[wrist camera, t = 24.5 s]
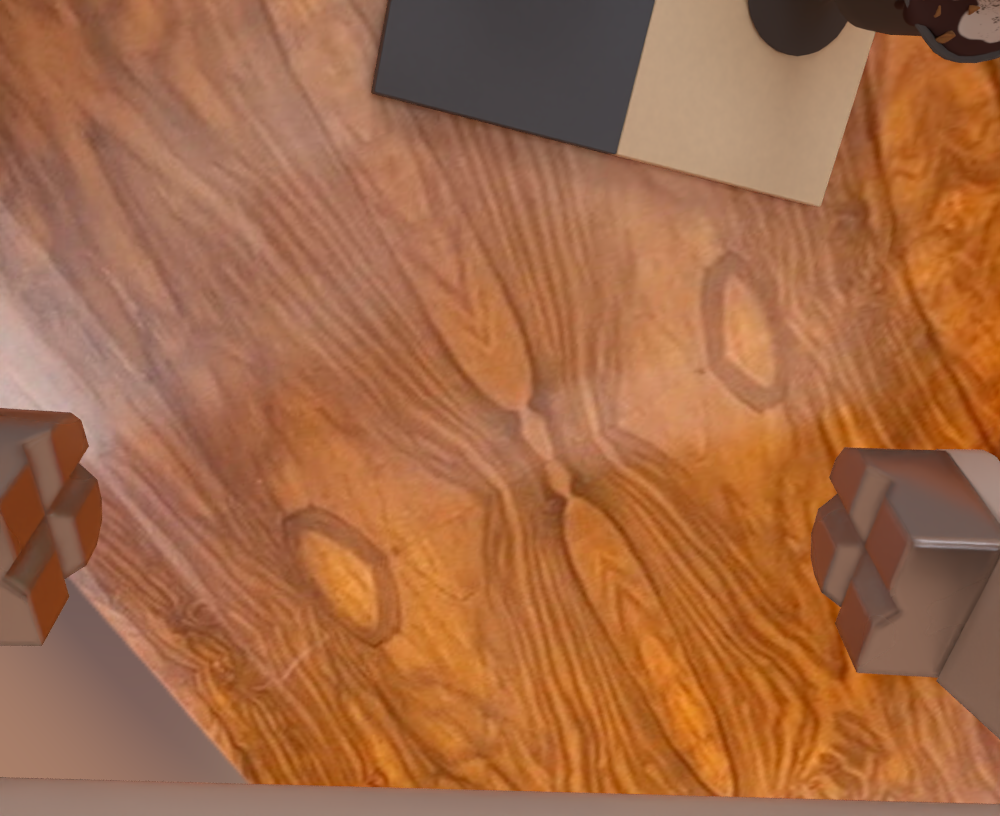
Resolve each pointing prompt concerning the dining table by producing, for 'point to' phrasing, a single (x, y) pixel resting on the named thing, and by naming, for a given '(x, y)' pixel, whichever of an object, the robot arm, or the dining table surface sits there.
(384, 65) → the board
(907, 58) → the dining table surface
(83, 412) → the dining table surface
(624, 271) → the dining table surface
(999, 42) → the sundae
